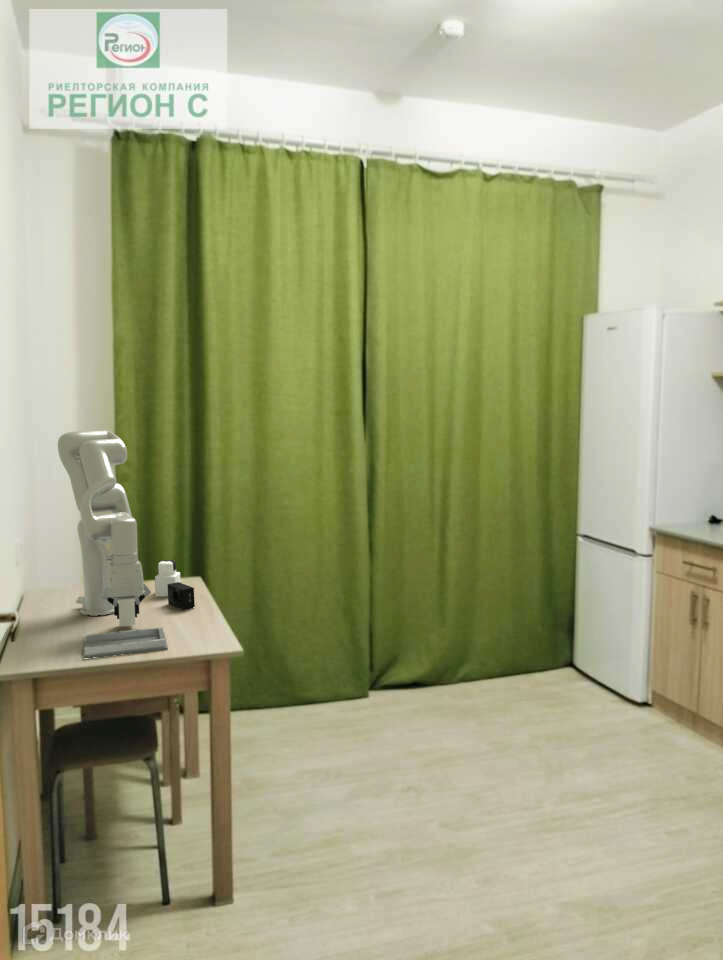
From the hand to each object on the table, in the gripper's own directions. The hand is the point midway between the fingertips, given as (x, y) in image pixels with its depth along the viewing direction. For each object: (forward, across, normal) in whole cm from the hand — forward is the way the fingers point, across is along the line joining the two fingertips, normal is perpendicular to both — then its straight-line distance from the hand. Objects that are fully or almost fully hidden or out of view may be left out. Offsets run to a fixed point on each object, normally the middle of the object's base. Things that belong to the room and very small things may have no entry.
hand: (126, 616), depth 229 cm
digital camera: (+4, +17, +18) cm, 25 cm away
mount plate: (+3, -1, -18) cm, 18 cm away
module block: (+2, 0, 0) cm, 2 cm away
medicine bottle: (+5, +15, +34) cm, 38 cm away
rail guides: (+3, -1, -18) cm, 18 cm away
